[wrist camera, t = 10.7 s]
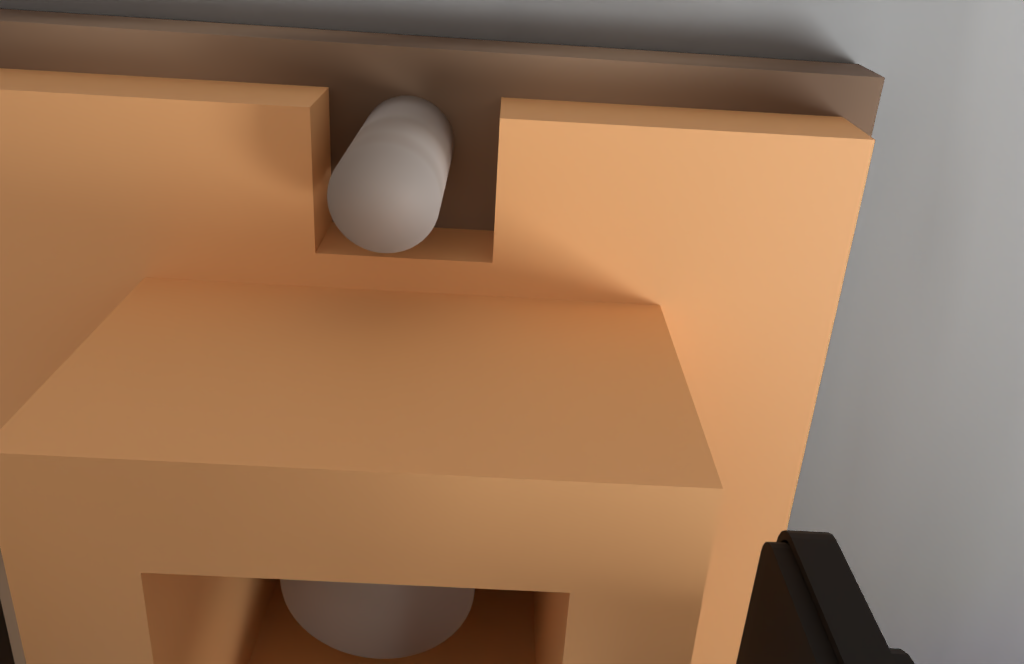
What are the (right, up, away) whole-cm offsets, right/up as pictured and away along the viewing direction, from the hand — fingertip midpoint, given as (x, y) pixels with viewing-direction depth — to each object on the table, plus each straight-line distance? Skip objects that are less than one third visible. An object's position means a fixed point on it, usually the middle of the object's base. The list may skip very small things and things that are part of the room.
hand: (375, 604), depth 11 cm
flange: (0, +1, +3) cm, 3 cm away
